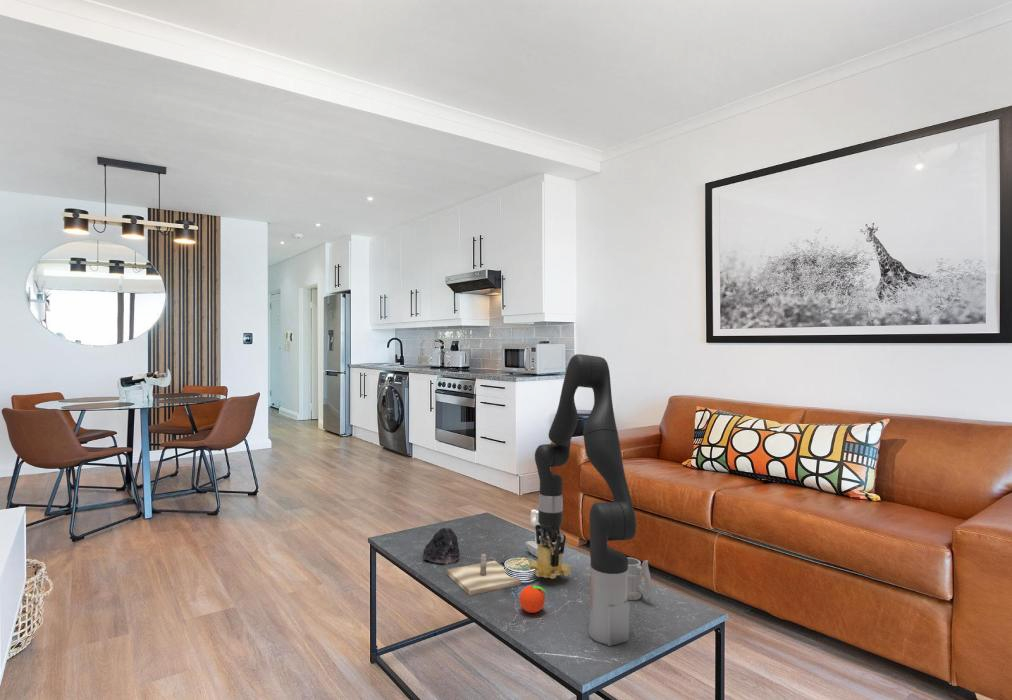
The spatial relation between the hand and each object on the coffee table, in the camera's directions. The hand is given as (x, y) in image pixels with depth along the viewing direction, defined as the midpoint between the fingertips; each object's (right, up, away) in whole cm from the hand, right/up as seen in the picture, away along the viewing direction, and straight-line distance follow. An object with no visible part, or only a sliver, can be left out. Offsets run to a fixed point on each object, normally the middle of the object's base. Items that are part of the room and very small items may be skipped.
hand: (549, 562), depth 177 cm
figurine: (-2, -5, +21) cm, 22 cm away
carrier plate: (-21, -4, -2) cm, 21 cm away
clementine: (-6, -5, -22) cm, 24 cm away
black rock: (-35, -4, +16) cm, 39 cm away
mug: (+24, -6, -12) cm, 27 cm away
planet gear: (0, -2, 0) cm, 2 cm away
